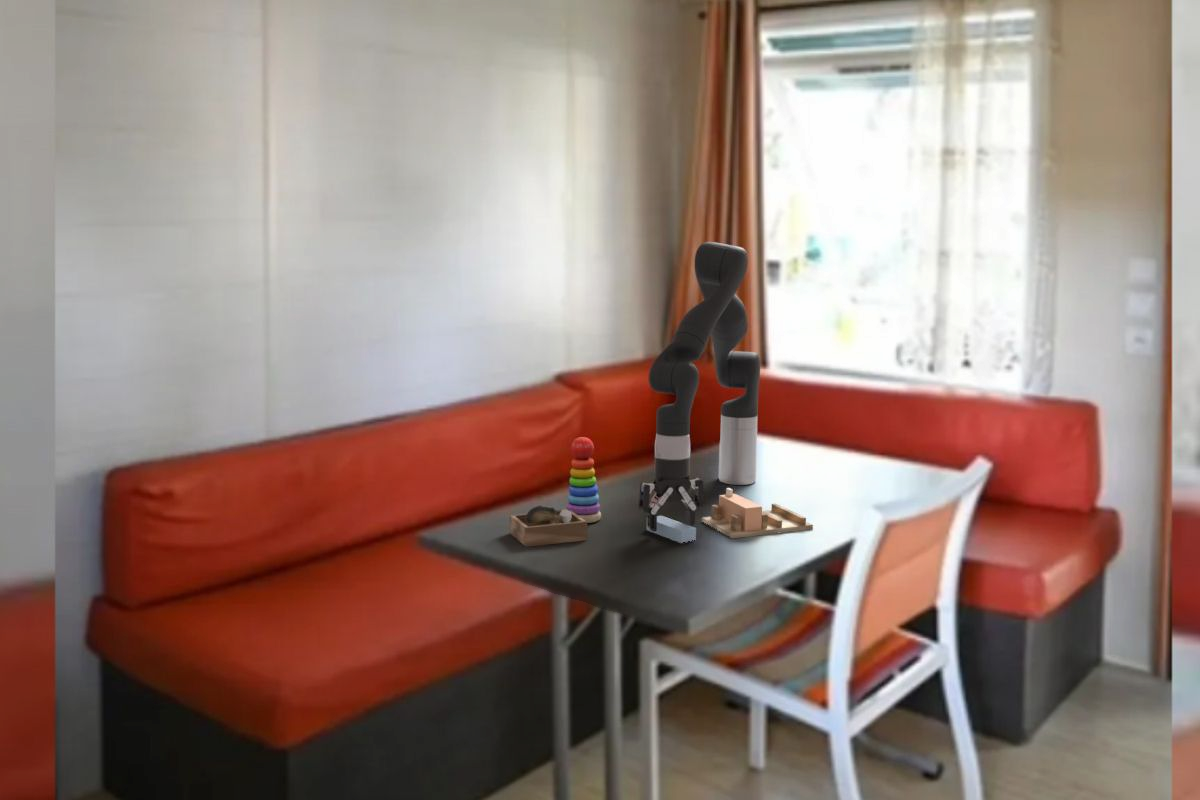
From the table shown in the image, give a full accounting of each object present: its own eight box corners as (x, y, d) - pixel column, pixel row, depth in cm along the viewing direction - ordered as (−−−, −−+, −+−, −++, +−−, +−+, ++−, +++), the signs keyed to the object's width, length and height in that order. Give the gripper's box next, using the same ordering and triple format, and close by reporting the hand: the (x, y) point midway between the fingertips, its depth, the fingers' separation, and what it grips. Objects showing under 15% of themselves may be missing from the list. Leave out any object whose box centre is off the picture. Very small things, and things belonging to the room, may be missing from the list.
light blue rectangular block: (646, 531, 260) (646, 518, 259) (661, 528, 262) (661, 515, 262) (681, 544, 250) (681, 530, 250) (695, 541, 252) (696, 528, 252)
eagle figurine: (538, 522, 259) (517, 524, 251) (556, 496, 258) (535, 497, 250) (563, 545, 256) (542, 547, 248) (581, 519, 255) (560, 520, 247)
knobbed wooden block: (718, 517, 267) (719, 488, 266) (734, 515, 268) (735, 487, 267) (745, 530, 256) (745, 501, 255) (761, 529, 257) (762, 499, 256)
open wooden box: (509, 533, 256) (509, 515, 256) (569, 527, 261) (569, 509, 261) (525, 546, 247) (525, 528, 246) (587, 540, 252) (587, 521, 251)
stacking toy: (606, 516, 270) (606, 435, 267) (594, 525, 263) (594, 442, 259) (573, 513, 273) (573, 433, 269) (560, 522, 265) (560, 439, 262)
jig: (701, 521, 266) (702, 504, 266) (779, 513, 274) (780, 496, 273) (731, 538, 254) (732, 520, 253) (812, 529, 261) (813, 511, 261)
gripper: (694, 448, 259) (692, 521, 262) (634, 453, 254) (633, 527, 256) (710, 455, 252) (708, 529, 255) (649, 460, 247) (648, 536, 250)
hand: (670, 528), depth 256 cm, fingers open, 8 cm apart
